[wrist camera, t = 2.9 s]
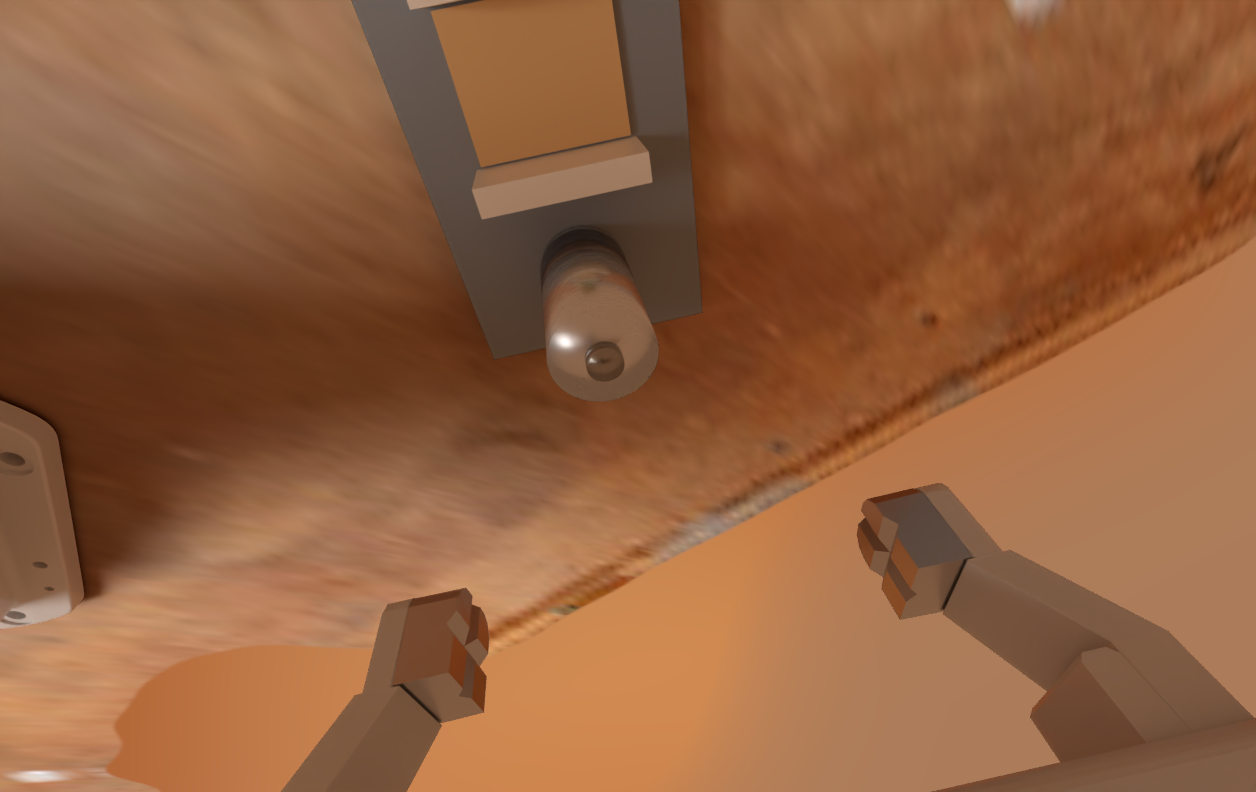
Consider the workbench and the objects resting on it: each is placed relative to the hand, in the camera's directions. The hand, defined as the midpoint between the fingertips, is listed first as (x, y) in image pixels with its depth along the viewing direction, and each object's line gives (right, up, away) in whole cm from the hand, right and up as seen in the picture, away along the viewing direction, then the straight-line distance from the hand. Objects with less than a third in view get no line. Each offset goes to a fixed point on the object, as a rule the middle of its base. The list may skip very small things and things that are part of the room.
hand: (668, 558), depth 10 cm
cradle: (-4, +15, +8) cm, 17 cm away
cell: (-3, +9, +11) cm, 15 cm away
